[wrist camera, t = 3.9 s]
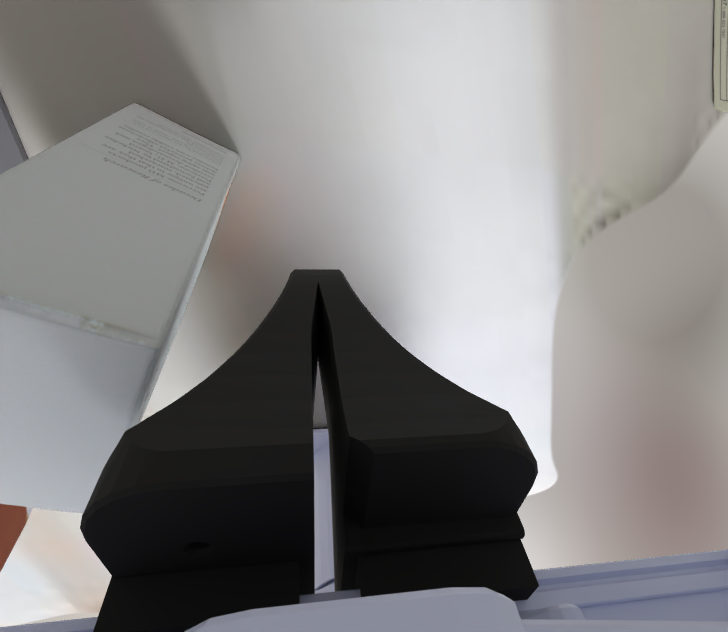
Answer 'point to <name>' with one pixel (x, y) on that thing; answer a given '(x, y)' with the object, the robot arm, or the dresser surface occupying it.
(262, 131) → the dresser surface
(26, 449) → the skincare box
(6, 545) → the cine camera
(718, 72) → the skincare box
